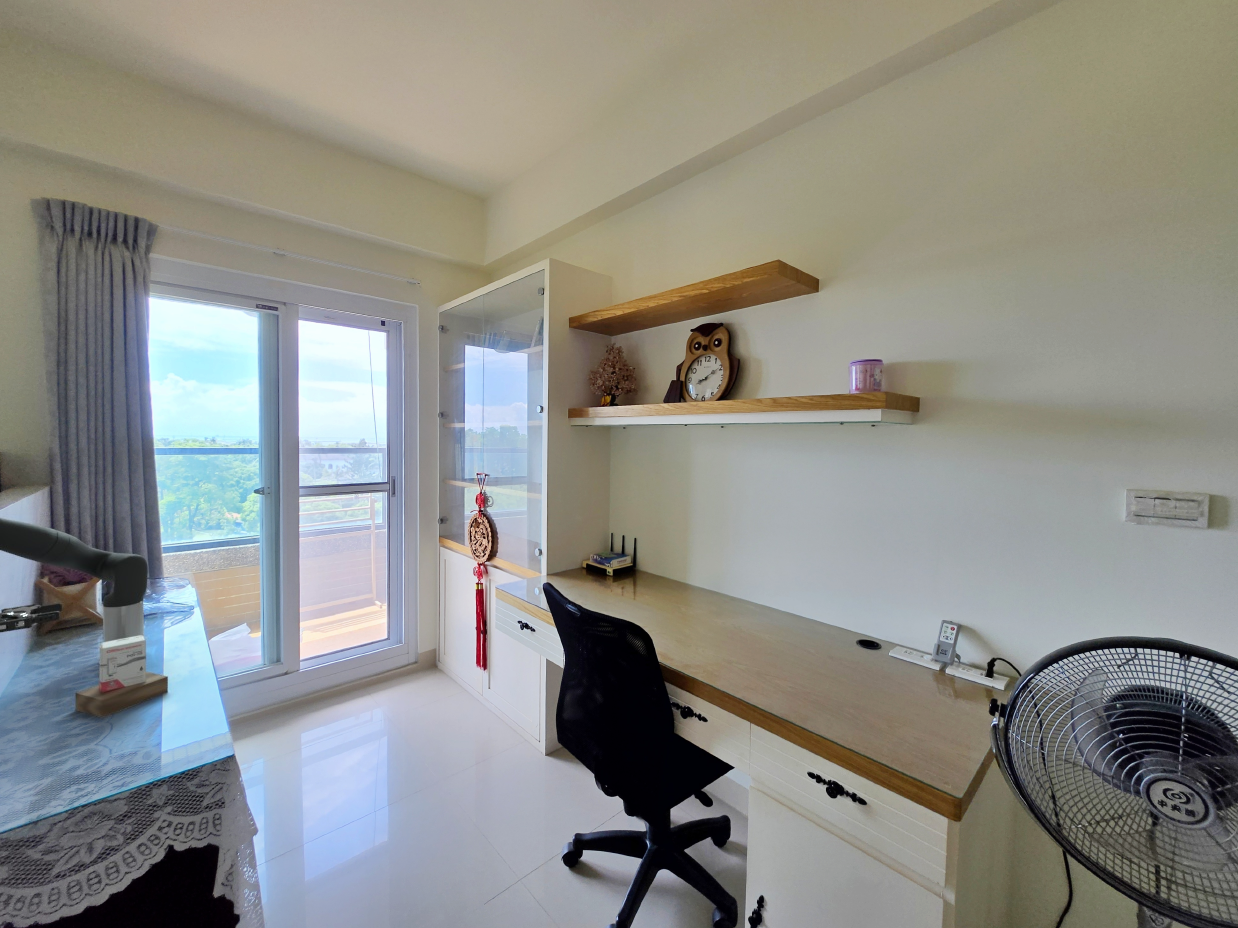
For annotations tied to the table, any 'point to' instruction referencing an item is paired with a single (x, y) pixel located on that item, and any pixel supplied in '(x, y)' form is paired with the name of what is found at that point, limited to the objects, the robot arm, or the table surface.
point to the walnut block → (120, 696)
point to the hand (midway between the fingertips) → (60, 610)
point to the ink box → (122, 663)
